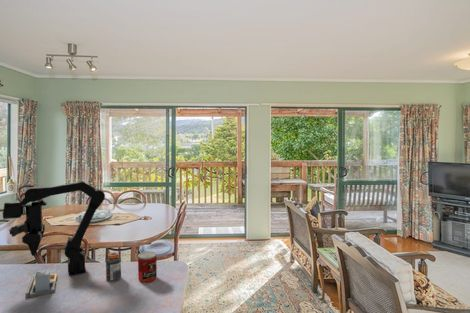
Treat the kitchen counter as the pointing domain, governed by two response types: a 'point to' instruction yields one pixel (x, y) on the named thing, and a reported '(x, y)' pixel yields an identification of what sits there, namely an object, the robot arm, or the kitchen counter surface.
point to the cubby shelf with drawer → (32, 287)
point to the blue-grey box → (42, 281)
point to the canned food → (147, 267)
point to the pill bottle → (113, 267)
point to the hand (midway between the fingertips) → (35, 252)
